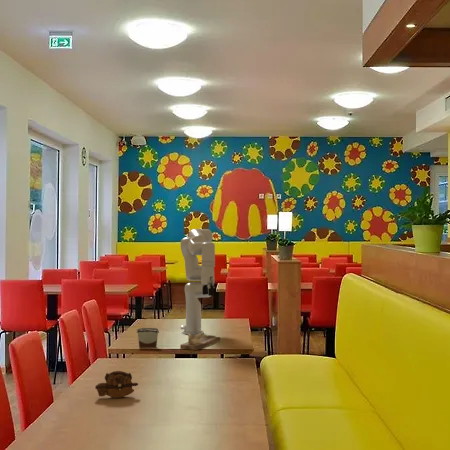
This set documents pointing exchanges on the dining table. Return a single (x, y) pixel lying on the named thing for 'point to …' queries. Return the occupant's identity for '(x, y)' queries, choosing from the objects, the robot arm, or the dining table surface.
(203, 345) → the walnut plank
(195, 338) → the beige rectangular block
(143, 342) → the food container
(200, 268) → the robot arm
